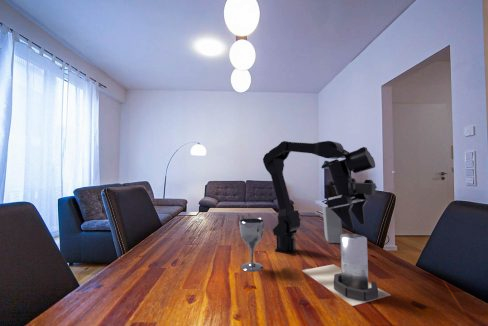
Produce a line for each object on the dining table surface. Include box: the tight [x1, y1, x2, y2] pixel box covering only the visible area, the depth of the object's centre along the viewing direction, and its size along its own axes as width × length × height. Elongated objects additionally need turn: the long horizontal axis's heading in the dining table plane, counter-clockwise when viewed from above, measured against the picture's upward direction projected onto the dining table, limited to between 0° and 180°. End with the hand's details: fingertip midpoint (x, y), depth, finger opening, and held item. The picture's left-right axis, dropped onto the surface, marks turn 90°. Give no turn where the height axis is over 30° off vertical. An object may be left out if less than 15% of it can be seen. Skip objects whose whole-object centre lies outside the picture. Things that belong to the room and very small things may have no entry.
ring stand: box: [301, 263, 391, 307], centre depth 60 cm, size 19×12×3 cm, turn 20°
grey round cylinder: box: [340, 233, 369, 290], centre depth 56 cm, size 6×6×13 cm
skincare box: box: [322, 204, 343, 244], centre depth 99 cm, size 8×7×16 cm
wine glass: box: [239, 217, 265, 273], centre depth 72 cm, size 8×8×15 cm
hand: (357, 226), depth 68 cm, fingers open, 9 cm apart
